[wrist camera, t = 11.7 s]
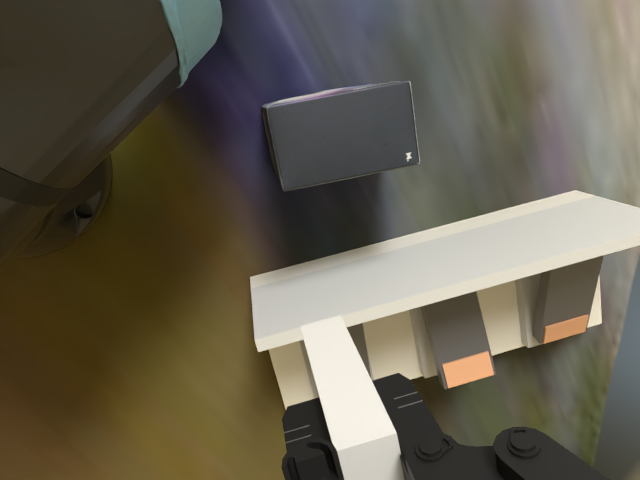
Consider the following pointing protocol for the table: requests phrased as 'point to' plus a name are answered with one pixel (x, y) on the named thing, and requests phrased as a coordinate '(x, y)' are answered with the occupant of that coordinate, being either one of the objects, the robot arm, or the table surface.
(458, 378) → the switch
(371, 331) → the switch unit
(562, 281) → the switch
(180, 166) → the table surface
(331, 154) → the small box
